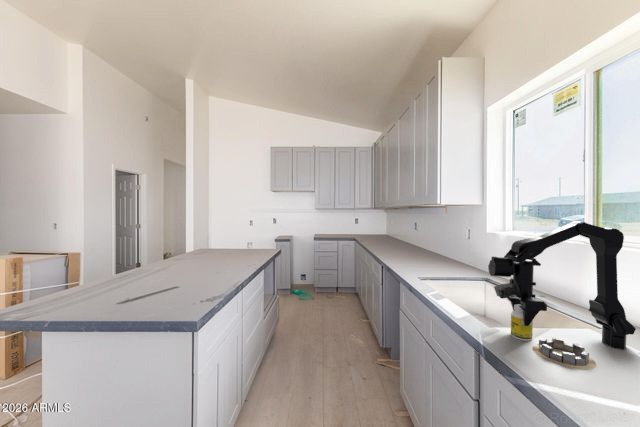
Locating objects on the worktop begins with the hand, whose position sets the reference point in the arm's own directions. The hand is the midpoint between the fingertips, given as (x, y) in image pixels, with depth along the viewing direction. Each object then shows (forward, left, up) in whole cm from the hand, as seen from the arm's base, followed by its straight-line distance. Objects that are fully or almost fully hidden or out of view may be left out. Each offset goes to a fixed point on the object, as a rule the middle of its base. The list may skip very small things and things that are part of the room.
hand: (521, 322), depth 102 cm
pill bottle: (0, 0, -6) cm, 6 cm away
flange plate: (+10, +9, -6) cm, 15 cm away
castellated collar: (+10, +9, -5) cm, 14 cm away
